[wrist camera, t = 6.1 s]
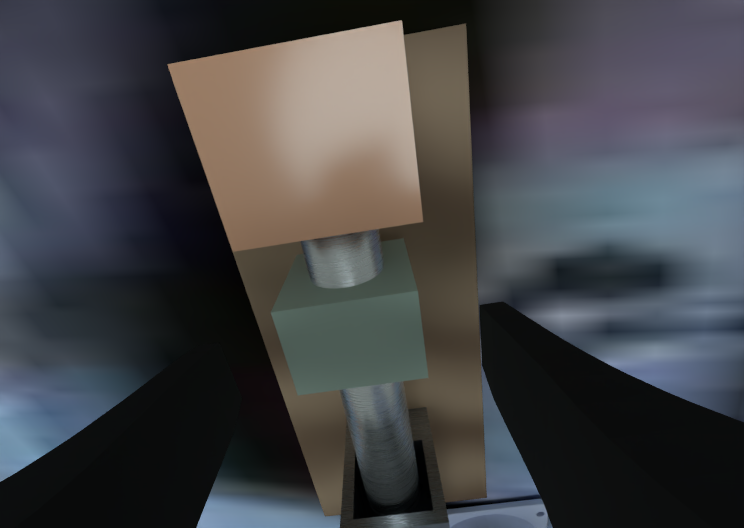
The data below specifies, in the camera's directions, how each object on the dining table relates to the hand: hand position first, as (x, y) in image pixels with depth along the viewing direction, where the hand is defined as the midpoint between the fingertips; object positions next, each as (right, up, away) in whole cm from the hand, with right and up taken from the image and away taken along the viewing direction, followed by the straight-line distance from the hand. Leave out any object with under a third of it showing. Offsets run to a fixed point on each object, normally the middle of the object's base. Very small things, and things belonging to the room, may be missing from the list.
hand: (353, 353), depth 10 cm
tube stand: (+1, -1, +8) cm, 8 cm away
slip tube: (0, 0, +5) cm, 5 cm away
